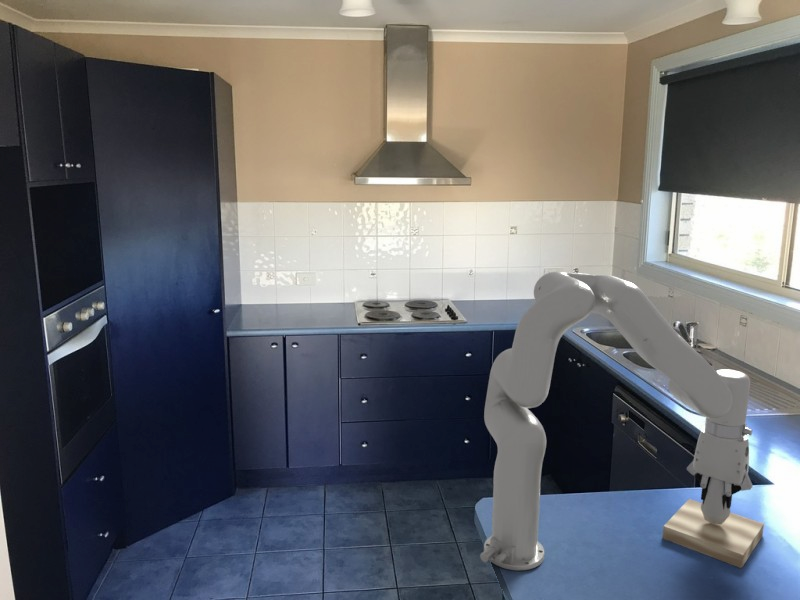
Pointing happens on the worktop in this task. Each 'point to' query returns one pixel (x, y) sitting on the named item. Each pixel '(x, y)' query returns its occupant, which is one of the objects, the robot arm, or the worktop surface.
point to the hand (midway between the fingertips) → (715, 506)
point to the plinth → (714, 534)
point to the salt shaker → (715, 503)
